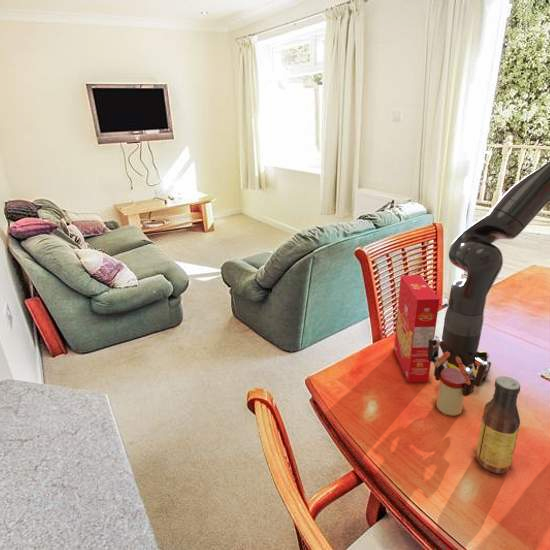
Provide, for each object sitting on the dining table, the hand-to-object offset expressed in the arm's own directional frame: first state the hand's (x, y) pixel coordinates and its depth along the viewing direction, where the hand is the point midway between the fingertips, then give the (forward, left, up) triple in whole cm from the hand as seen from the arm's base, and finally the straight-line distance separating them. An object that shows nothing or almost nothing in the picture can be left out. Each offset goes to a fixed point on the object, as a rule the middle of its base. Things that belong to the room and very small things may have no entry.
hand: (452, 386), depth 89 cm
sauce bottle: (-5, +15, -7) cm, 17 cm away
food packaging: (+7, -16, -7) cm, 19 cm away
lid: (0, 0, +3) cm, 3 cm away
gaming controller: (-8, -16, -7) cm, 19 cm away
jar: (0, 0, -6) cm, 6 cm away
